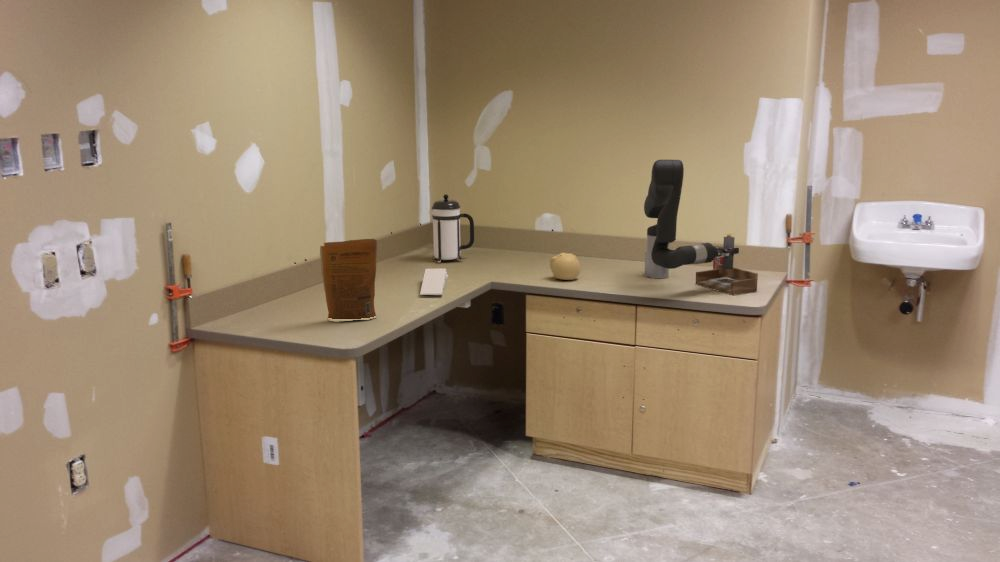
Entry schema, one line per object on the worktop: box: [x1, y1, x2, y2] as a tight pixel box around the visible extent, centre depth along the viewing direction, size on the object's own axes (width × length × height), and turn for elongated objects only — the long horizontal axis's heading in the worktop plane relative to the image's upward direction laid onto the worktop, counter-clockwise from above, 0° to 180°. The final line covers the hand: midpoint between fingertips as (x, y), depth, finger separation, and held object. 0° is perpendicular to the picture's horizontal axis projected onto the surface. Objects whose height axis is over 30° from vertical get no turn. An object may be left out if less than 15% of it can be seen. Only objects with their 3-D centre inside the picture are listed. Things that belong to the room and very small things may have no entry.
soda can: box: [712, 246, 723, 270], centre depth 362 cm, size 7×7×12 cm
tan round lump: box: [549, 252, 581, 281], centre depth 361 cm, size 11×12×11 cm
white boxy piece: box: [419, 268, 449, 296], centre depth 346 cm, size 10×7×28 cm
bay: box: [695, 264, 759, 296], centre depth 343 cm, size 21×12×7 cm, turn 29°
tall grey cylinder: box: [722, 232, 735, 269], centre depth 341 cm, size 4×4×14 cm
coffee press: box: [428, 193, 475, 262], centre depth 398 cm, size 17×16×30 cm
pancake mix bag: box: [319, 238, 378, 319], centre depth 299 cm, size 7×19×28 cm, turn 101°
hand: (733, 249), depth 342 cm, fingers closed on tall grey cylinder, 4 cm apart
